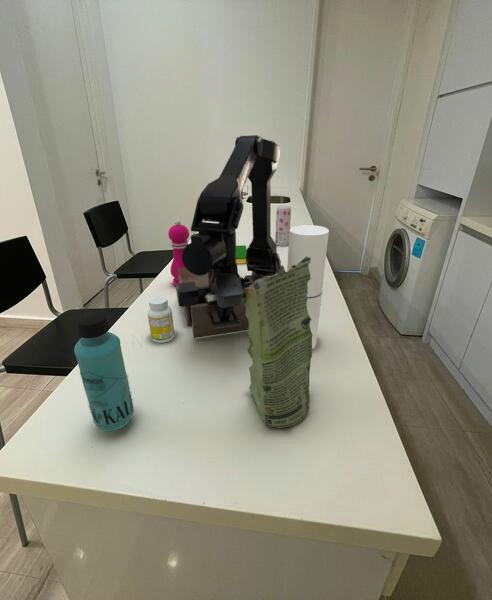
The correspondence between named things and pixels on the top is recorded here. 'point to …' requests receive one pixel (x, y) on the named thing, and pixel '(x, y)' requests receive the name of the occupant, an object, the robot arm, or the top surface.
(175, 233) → the pepper mill
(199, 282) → the cabinet
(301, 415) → the pouch
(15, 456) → the top surface
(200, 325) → the drawer
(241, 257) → the dish sponge
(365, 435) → the top surface
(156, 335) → the supplement bottle
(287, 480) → the top surface
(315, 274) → the cylindrical container
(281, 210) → the beverage can
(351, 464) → the top surface
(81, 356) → the beverage bottle
